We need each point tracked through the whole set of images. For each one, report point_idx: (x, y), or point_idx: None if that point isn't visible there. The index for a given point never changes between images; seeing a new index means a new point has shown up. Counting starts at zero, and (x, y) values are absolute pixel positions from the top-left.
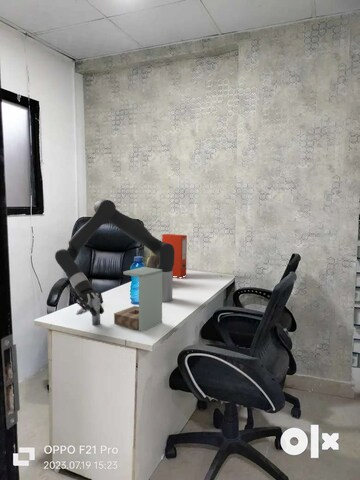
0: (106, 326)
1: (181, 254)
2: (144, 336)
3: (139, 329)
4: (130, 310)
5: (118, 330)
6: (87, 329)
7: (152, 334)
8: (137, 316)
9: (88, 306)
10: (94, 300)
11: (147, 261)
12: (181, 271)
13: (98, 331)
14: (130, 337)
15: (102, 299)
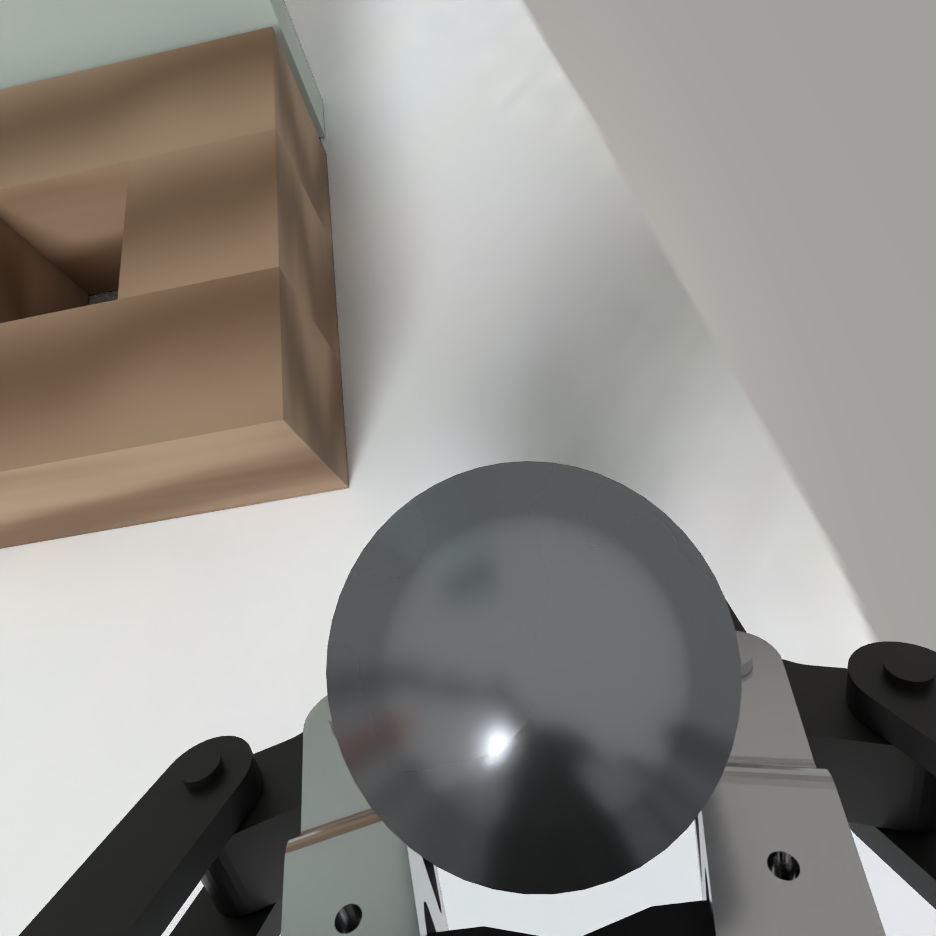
0: None
1: None
2: (393, 18)
3: (318, 114)
4: (10, 358)
5: (469, 266)
6: (786, 567)
7: (310, 17)
8: (183, 98)
9: (861, 657)
10: (670, 540)
11: None
12: None
13: (686, 391)
14: (504, 60)
15: (96, 855)
